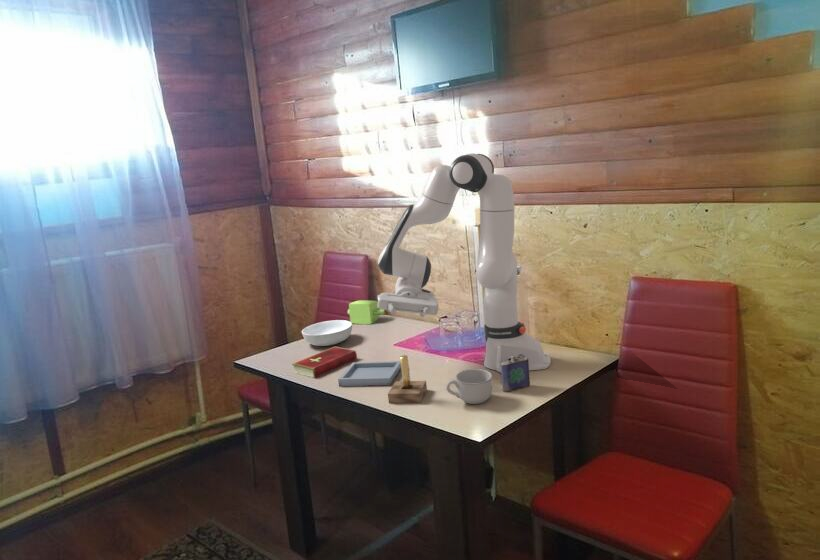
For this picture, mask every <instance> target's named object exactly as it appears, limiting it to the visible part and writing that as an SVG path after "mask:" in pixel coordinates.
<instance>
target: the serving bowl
mask: <svg viewBox="0 0 820 560" xmlns="http://www.w3.org/2000/svg"><path fill="white" fill-rule="evenodd" d="M352 331H353V323H351V322H350V320H344V319H335V320H334V319H333V320H326V321H320V322H317V323H314V324H310V325H307V326H306V327H304V328H303V329H302V330H301V334H302V336H303V339H304V340H305V341H306V342H307V343H308V344H310V345H313V346H319V347H330V346H334V345H337V344H339V343H342V342H343V341H345V340H347V339H348V338H349V337H350V335H351V334H352Z"/></svg>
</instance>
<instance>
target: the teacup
mask: <svg viewBox="0 0 820 560" xmlns="http://www.w3.org/2000/svg"><path fill="white" fill-rule="evenodd" d="M492 381H493V375H492V373H491V372H490V371H488V370H485V369H483V368H482V369H481V368H469V369H465V370H461V371H459V372H458V373H456V374H455V379H449V380H448V381H447V382H446V383H445V390H446V391H447V392H448V393H449V394H451V395H453V396H455V397H456V398H457V399H460V400H462V401H463V402H464V403H466V404H469V405H480V404H483V403H485V402H486V401H487V400H489V399H490V397H491V396H492V394H493V393H492V392H493V382H492ZM453 384H454V385H455V387H456V391H453V390H452V389H451V388H450V387H451V385H453Z"/></svg>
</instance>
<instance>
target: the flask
mask: <svg viewBox="0 0 820 560" xmlns="http://www.w3.org/2000/svg"><path fill="white" fill-rule="evenodd" d="M511 357H512V358H511V360H510V361H507V362H503V363H501V374H500V375H501V386H502V388H501V390H502V392H504V393H510V392H515V391H518V390H520V389H525V388H530V387H531V386H530V385H531V384H530V383H531V382H530V371H529V363H528V359H527V358H522V357H520V358H516V357H515V355H514V354H513V355H511Z"/></svg>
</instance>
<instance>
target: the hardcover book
mask: <svg viewBox="0 0 820 560" xmlns="http://www.w3.org/2000/svg"><path fill="white" fill-rule="evenodd" d="M356 360H358V354H357V350H355V349H350V348H344V347H339V346H333V347H330V348H328V349H325V350H323V351H320V352H318V353H315V354H312V355H310V356H308V357H306V358H303V359H300V360H298V361H296V362H293V363H291V365H292V366H293V369H294V373H295V374H299V375H301V376H302V375H303V376H308V377H312V378H313V379H316V378H318V377H320V376H322V375H325V374H327V373H329V372H332V371H334V370H336V369H338V368H340V367H343V366H345V365H347V364H349V362H350V363H353V362H354V361H356Z"/></svg>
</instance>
